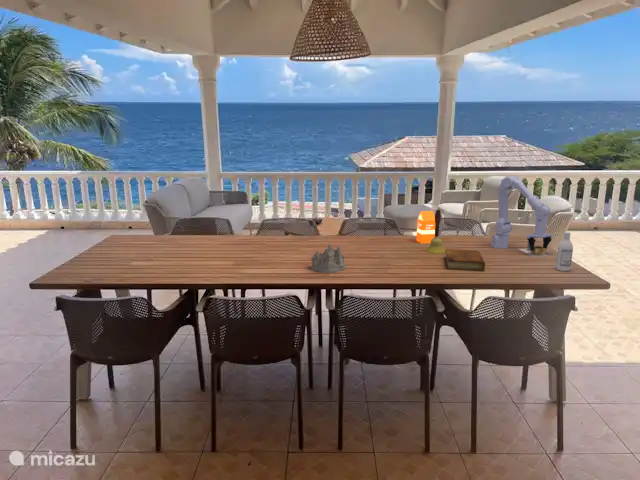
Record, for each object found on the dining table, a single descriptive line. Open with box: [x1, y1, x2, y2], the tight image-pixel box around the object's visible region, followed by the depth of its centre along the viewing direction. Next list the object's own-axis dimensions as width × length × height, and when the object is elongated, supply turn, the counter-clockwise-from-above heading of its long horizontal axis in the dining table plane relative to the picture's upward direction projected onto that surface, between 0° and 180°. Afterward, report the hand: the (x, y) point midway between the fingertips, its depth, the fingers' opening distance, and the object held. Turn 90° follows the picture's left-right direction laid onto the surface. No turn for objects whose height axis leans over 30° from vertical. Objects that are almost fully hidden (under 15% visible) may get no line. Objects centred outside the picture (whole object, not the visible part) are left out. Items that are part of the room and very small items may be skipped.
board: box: [518, 248, 549, 257], centre depth 293 cm, size 10×17×1 cm, turn 7°
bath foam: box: [555, 231, 574, 272], centre depth 262 cm, size 7×7×20 cm
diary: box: [444, 248, 486, 272], centre depth 273 cm, size 23×19×6 cm
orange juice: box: [416, 210, 436, 245], centre depth 319 cm, size 8×9×20 cm
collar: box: [531, 245, 547, 256], centre depth 288 cm, size 6×6×4 cm
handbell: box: [425, 209, 446, 255], centre depth 296 cm, size 12×12×25 cm
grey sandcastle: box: [310, 243, 347, 274], centre depth 264 cm, size 16×16×15 cm
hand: (538, 250), depth 288 cm, fingers open, 7 cm apart
